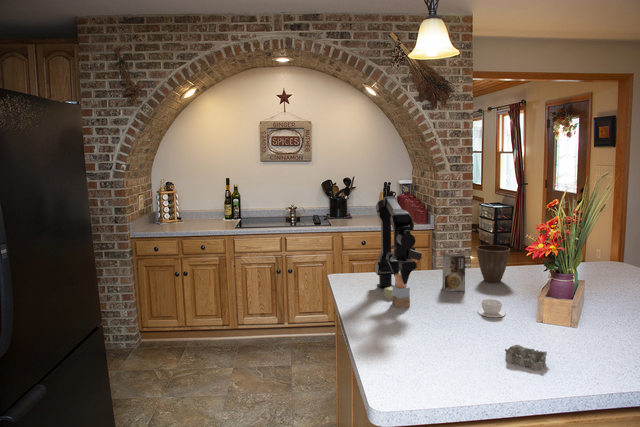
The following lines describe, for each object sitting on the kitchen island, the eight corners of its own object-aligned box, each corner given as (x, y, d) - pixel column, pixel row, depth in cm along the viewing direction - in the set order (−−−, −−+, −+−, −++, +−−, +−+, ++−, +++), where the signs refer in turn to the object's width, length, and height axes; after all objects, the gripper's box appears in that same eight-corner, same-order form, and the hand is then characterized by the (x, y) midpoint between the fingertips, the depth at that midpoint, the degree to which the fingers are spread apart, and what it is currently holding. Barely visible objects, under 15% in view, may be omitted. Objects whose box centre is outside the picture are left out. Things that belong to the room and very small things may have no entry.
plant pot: (473, 276, 228) (473, 244, 226) (504, 276, 226) (505, 244, 224) (479, 284, 213) (480, 251, 211) (512, 285, 211) (514, 251, 209)
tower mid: (392, 295, 189) (392, 285, 188) (403, 293, 190) (403, 284, 190) (398, 298, 184) (398, 289, 183) (409, 297, 186) (409, 287, 185)
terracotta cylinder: (393, 285, 188) (393, 273, 188) (403, 284, 189) (403, 272, 189) (397, 288, 184) (397, 276, 183) (408, 287, 185) (408, 275, 184)
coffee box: (462, 287, 210) (462, 252, 208) (465, 291, 204) (465, 255, 202) (441, 286, 211) (442, 252, 209) (444, 291, 205) (444, 255, 203)
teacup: (507, 319, 170) (508, 307, 170) (479, 317, 172) (479, 305, 172) (502, 310, 180) (502, 298, 179) (476, 308, 182) (476, 297, 181)
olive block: (384, 297, 199) (384, 288, 198) (390, 295, 201) (390, 286, 201) (391, 299, 196) (391, 290, 195) (397, 297, 198) (397, 288, 197)
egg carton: (502, 362, 137) (502, 348, 136) (511, 353, 142) (512, 340, 142) (540, 372, 130) (540, 359, 129) (548, 363, 135) (549, 350, 135)
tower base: (392, 303, 190) (392, 294, 189) (405, 302, 191) (405, 293, 190) (396, 308, 185) (396, 298, 184) (409, 307, 186) (409, 297, 185)
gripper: (429, 246, 177) (429, 285, 179) (410, 237, 195) (410, 273, 197) (402, 248, 175) (402, 288, 177) (385, 239, 193) (385, 275, 195)
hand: (400, 281), depth 186 cm, fingers open, 9 cm apart
